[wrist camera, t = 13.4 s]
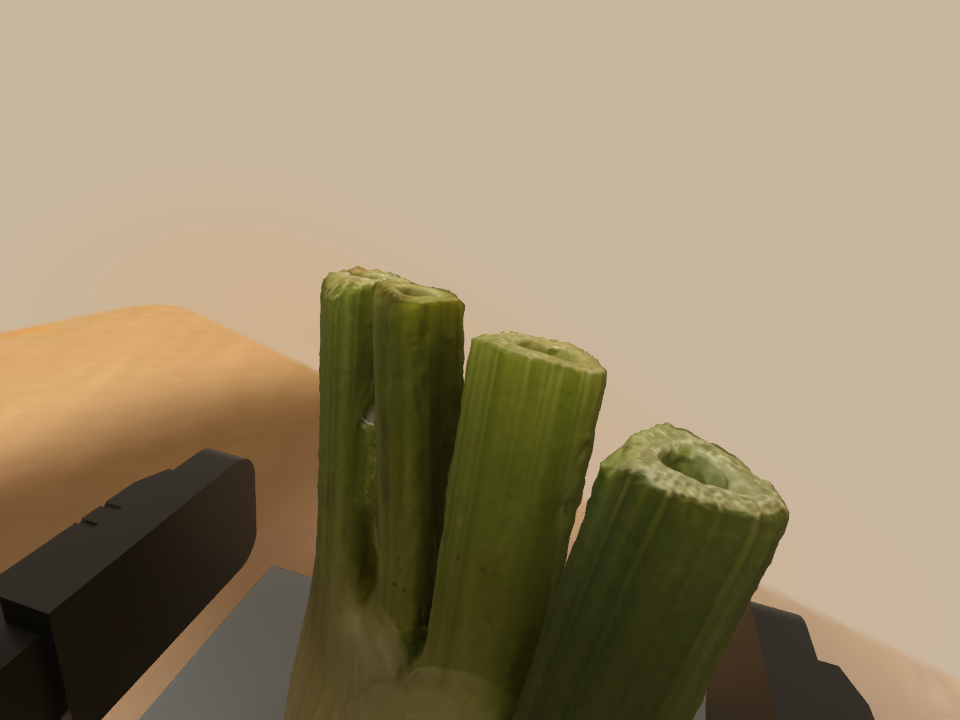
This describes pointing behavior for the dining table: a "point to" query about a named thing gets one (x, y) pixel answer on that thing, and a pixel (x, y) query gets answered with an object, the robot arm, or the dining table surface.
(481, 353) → the fennel bulb
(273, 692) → the slate board
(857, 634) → the dining table surface
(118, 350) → the dining table surface
